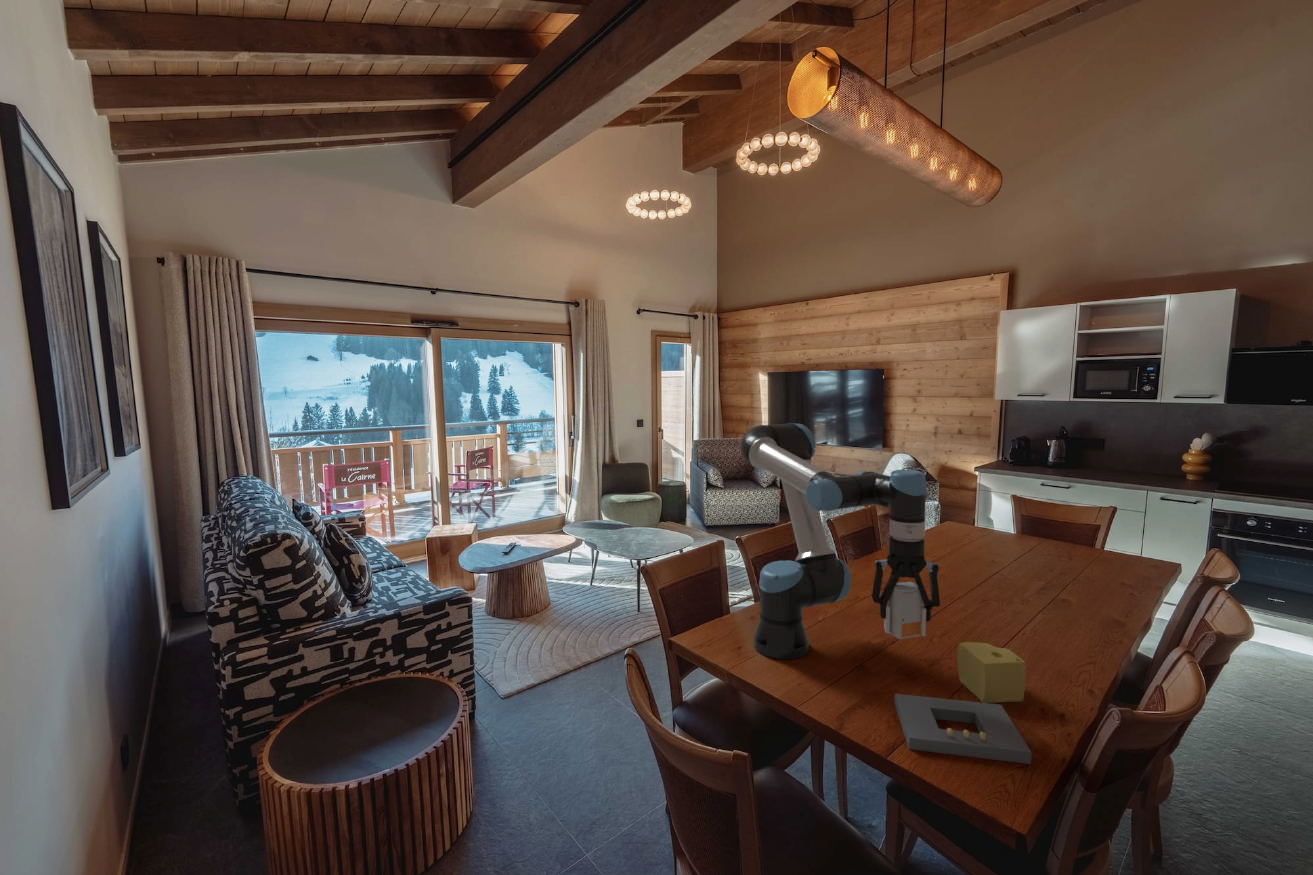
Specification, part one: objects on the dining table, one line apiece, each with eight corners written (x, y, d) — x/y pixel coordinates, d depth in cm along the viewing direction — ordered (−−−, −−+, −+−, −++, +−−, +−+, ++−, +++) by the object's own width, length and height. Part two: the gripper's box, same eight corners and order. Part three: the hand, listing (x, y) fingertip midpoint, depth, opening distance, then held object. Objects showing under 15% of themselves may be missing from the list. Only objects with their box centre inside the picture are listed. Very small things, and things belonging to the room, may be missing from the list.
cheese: (996, 678, 139) (998, 640, 138) (1026, 703, 128) (1029, 662, 127) (955, 679, 139) (957, 641, 138) (982, 705, 128) (984, 664, 127)
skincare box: (899, 640, 129) (900, 590, 128) (887, 632, 133) (888, 583, 132) (921, 636, 131) (923, 587, 129) (909, 628, 135) (910, 580, 133)
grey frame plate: (909, 749, 114) (909, 730, 113) (894, 703, 129) (895, 687, 129) (1030, 764, 109) (1032, 744, 108) (1000, 715, 124) (1001, 698, 124)
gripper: (863, 540, 128) (861, 635, 130) (958, 543, 123) (955, 643, 126) (859, 531, 135) (857, 622, 138) (949, 534, 131) (946, 628, 133)
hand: (904, 632), depth 132 cm, fingers closed on skincare box, 7 cm apart
